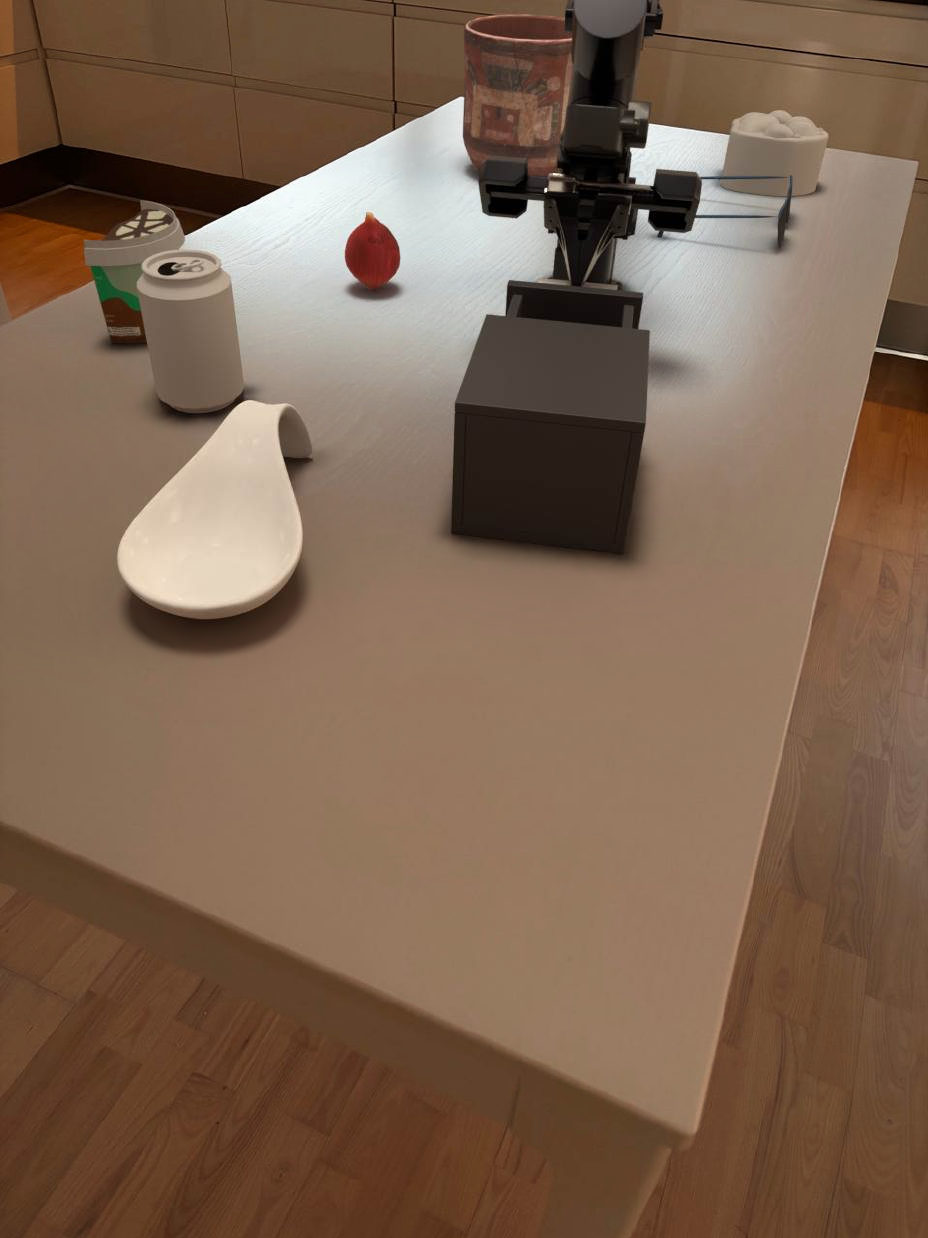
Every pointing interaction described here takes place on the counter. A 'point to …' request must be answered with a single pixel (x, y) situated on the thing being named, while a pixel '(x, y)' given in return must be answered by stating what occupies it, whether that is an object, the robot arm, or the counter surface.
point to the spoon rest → (222, 520)
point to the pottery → (516, 88)
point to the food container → (130, 266)
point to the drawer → (574, 303)
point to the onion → (372, 253)
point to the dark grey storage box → (550, 433)
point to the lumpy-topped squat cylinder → (774, 154)
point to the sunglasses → (782, 215)
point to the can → (191, 330)
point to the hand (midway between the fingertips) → (575, 288)
